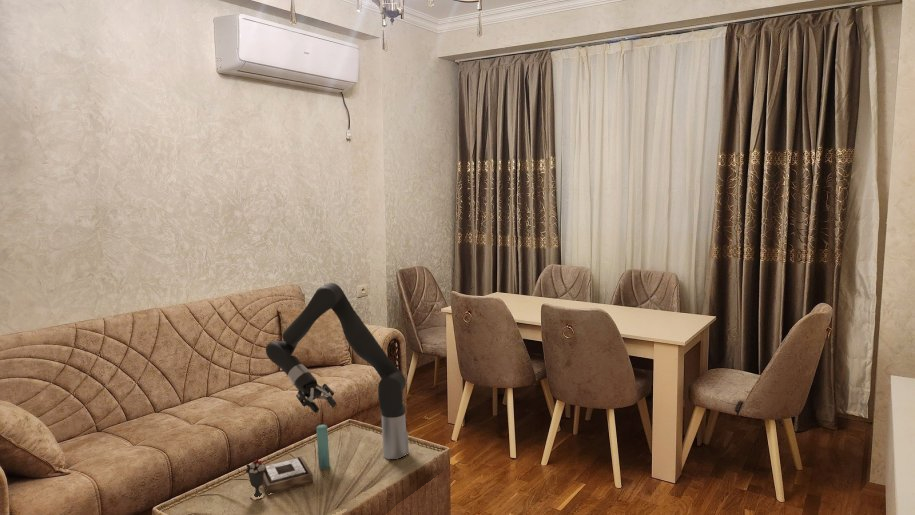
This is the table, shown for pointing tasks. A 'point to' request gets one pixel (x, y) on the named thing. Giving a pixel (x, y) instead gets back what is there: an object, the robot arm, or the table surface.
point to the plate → (284, 470)
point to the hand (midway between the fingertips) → (326, 408)
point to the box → (290, 482)
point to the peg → (323, 446)
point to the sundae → (256, 475)
